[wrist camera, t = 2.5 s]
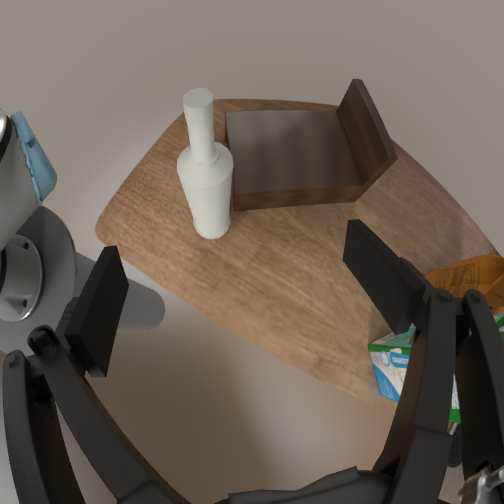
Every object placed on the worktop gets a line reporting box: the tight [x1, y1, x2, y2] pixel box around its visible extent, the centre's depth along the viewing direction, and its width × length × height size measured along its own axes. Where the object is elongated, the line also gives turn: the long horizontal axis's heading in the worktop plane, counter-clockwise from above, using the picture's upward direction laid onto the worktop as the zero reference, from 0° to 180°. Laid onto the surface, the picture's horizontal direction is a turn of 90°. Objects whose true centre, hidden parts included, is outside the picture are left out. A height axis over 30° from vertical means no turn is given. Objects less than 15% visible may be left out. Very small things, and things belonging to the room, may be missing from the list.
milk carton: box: [368, 313, 504, 424], centre depth 26 cm, size 9×9×25 cm
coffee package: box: [424, 254, 504, 314], centre depth 30 cm, size 10×12×22 cm
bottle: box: [177, 88, 233, 239], centre depth 28 cm, size 5×5×25 cm
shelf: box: [225, 79, 398, 211], centre depth 37 cm, size 20×14×14 cm
